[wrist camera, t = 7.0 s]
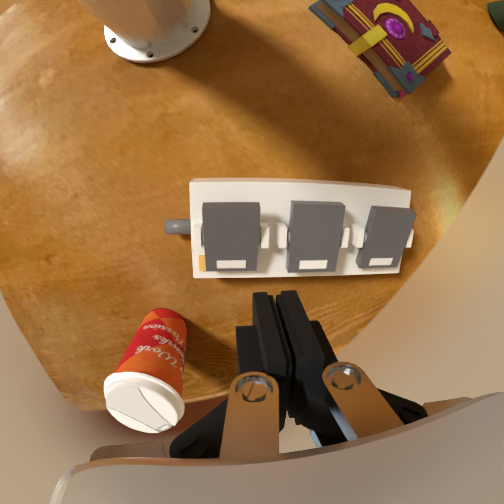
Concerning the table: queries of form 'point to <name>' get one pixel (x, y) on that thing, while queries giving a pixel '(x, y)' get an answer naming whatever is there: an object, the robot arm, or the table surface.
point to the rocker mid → (314, 236)
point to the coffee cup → (150, 375)
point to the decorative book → (387, 39)
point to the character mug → (497, 13)
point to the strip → (288, 219)
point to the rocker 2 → (385, 236)
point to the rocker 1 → (231, 235)
